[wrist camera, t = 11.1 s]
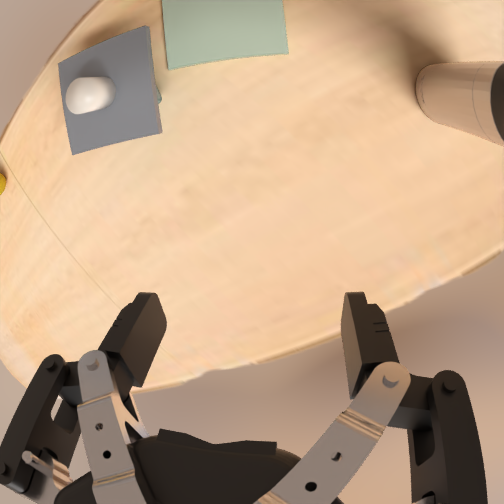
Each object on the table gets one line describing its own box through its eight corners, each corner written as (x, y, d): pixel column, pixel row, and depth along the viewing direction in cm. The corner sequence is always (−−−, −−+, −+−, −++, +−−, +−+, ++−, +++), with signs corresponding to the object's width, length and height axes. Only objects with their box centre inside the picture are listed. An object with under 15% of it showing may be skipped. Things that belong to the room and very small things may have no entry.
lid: (149, 27, 22) (125, 18, 17) (162, 132, 29) (140, 141, 24) (63, 63, 24) (34, 64, 19) (76, 153, 30) (50, 165, 26)
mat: (275, -41, 22) (275, -42, 21) (288, 54, 30) (288, 53, 29) (162, -21, 24) (160, -22, 23) (170, 70, 32) (168, 70, 32)
